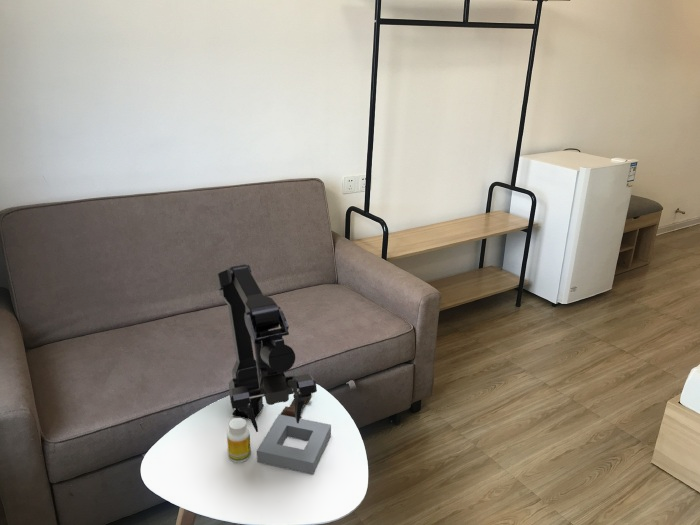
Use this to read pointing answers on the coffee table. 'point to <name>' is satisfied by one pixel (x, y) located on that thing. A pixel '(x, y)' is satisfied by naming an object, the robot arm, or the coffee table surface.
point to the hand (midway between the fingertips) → (277, 427)
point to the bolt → (293, 408)
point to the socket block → (292, 457)
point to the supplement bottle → (238, 440)
